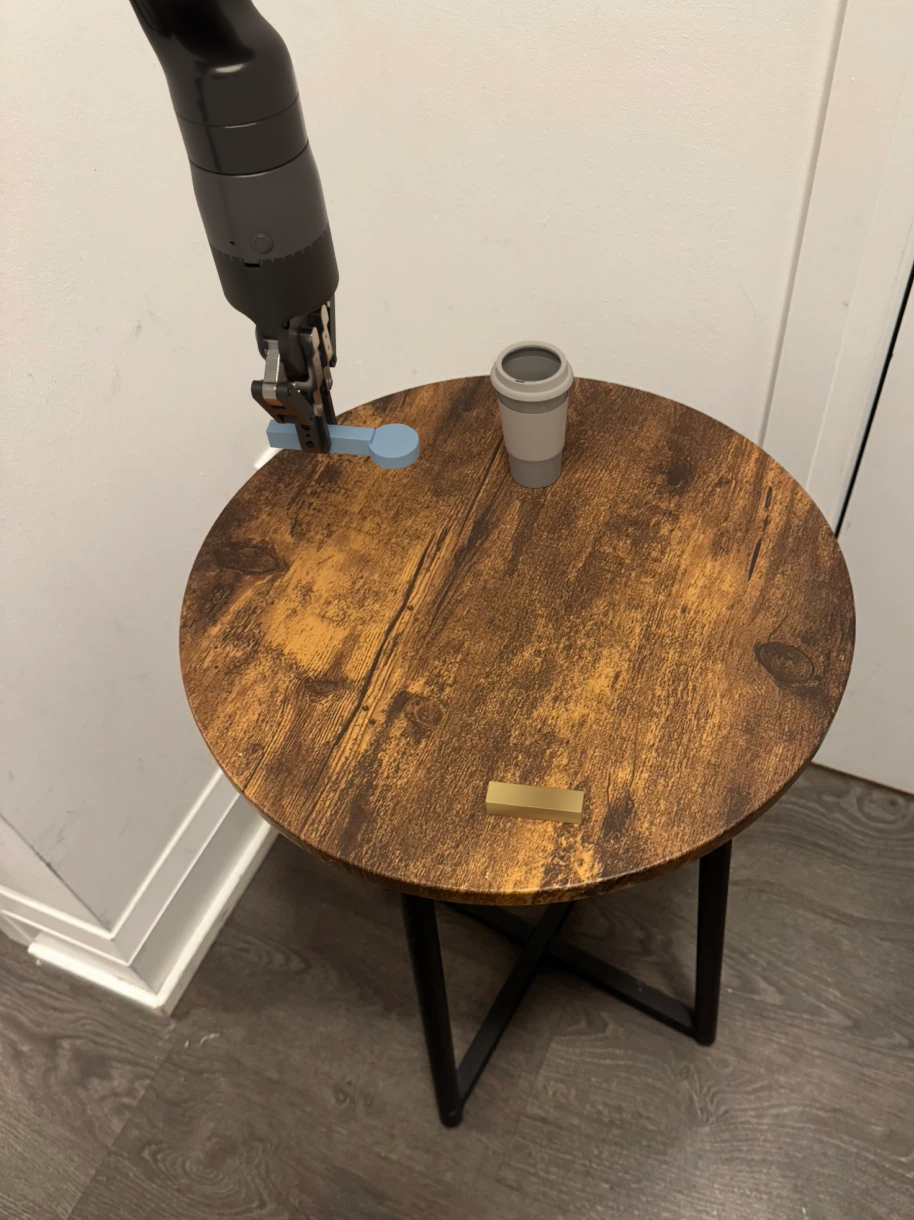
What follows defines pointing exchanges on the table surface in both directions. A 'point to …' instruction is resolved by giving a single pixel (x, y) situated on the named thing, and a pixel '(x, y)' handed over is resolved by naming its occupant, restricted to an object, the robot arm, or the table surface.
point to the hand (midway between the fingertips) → (320, 441)
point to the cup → (533, 409)
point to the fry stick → (535, 802)
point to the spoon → (358, 442)
